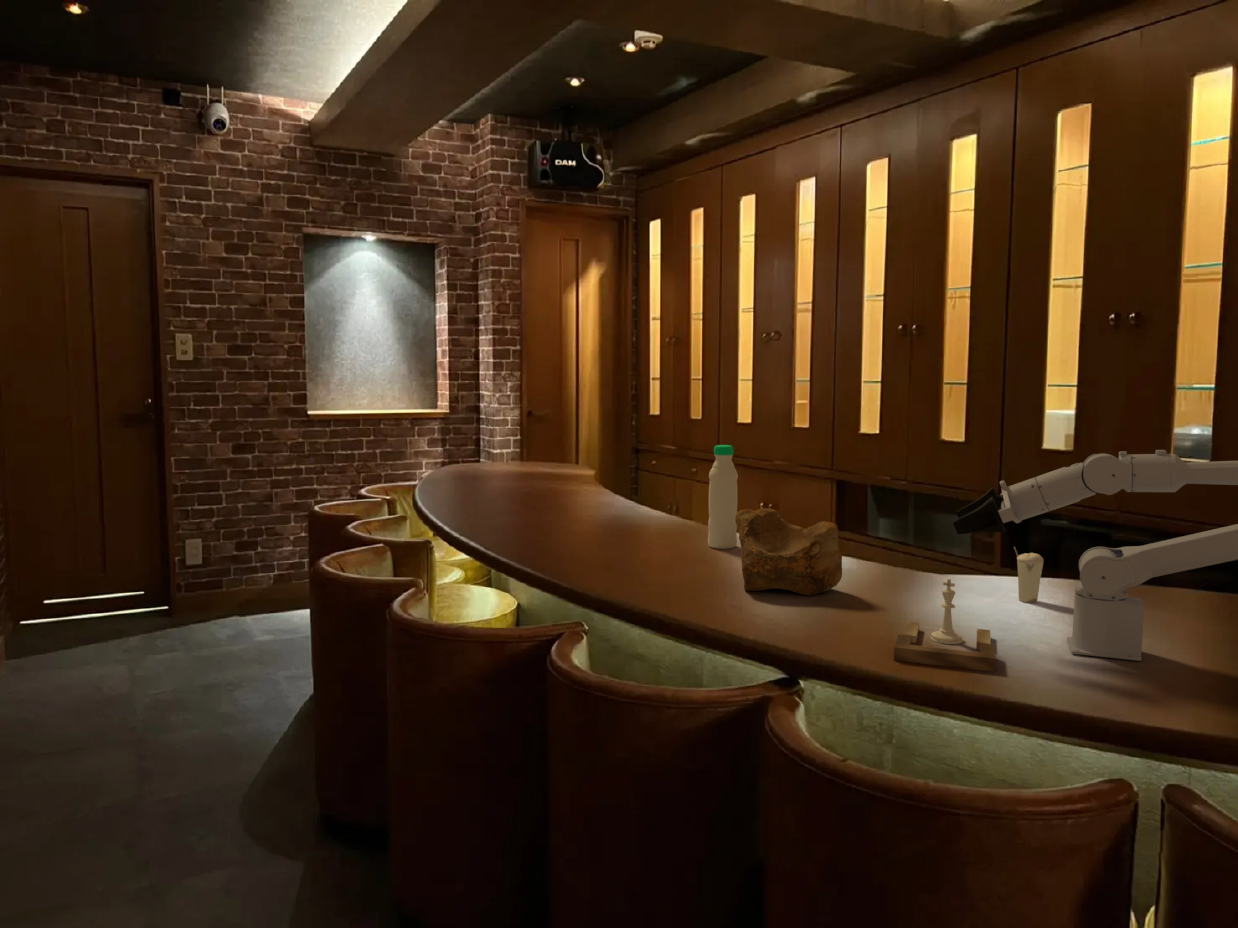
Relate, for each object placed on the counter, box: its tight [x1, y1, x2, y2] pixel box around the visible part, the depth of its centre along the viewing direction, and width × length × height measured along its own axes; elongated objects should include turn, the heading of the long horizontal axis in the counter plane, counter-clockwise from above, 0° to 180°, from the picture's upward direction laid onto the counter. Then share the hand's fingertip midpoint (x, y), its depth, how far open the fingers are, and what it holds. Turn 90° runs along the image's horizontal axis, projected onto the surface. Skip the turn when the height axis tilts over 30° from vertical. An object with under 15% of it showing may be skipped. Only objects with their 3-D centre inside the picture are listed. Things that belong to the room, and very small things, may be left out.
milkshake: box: [1013, 546, 1044, 604], centre depth 169 cm, size 4×5×10 cm
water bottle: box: [707, 444, 739, 550], centre depth 219 cm, size 7×7×25 cm
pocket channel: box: [902, 621, 992, 651], centre depth 145 cm, size 13×8×1 cm, turn 68°
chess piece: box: [930, 578, 964, 645], centre depth 145 cm, size 5×5×10 cm
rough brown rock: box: [735, 508, 843, 596], centre depth 178 cm, size 23×17×15 cm
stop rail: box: [893, 634, 996, 673], centre depth 135 cm, size 14×7×2 cm, turn 68°
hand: (956, 523), depth 147 cm, fingers open, 7 cm apart
